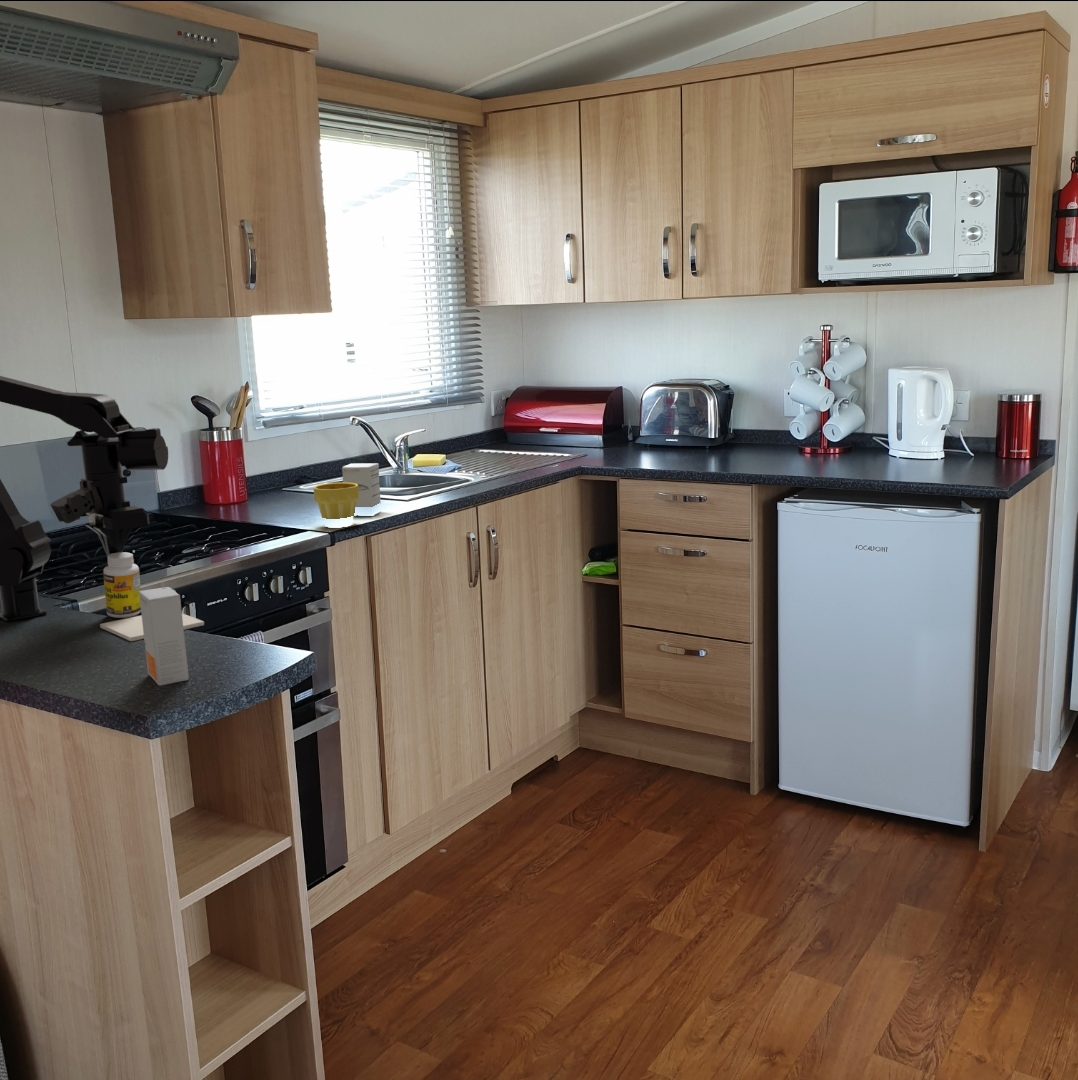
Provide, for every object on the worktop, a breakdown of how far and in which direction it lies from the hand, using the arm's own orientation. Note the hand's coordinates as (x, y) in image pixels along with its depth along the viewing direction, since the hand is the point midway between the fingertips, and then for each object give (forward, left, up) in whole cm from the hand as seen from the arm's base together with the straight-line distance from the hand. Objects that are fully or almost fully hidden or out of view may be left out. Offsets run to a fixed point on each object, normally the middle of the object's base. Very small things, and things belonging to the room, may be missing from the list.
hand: (114, 563), depth 185 cm
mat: (+13, 0, -8) cm, 16 cm away
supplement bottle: (+2, 0, -8) cm, 9 cm away
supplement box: (-49, +82, -9) cm, 96 cm away
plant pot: (-40, +69, -9) cm, 80 cm away
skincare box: (+41, -10, -9) cm, 43 cm away
